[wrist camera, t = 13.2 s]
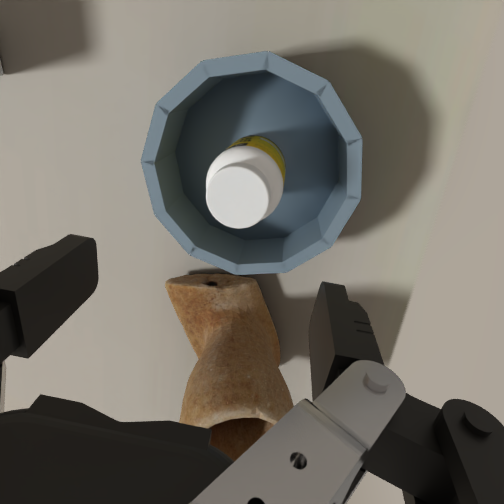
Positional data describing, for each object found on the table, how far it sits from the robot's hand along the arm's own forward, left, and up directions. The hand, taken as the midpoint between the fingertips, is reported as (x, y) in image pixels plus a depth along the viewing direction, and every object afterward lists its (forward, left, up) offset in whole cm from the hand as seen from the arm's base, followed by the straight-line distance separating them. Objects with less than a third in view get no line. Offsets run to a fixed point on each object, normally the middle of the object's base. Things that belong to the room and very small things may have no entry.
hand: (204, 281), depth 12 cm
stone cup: (-13, +12, -21) cm, 27 cm away
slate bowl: (0, 0, -21) cm, 21 cm away
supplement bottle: (0, 0, -20) cm, 20 cm away
